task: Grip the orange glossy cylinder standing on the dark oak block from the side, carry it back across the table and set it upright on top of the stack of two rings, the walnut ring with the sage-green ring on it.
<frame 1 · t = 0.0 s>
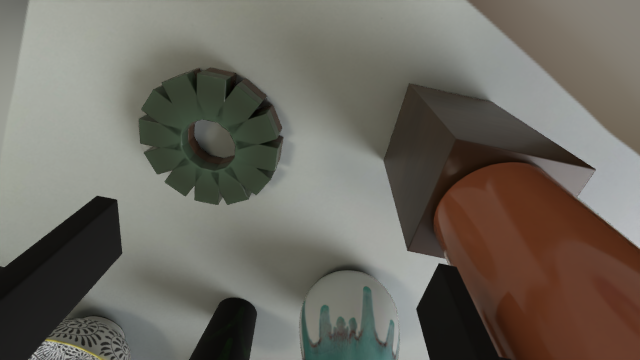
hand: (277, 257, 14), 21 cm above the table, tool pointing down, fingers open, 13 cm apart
oak block: (435, 133, 32), on the table
ring stack: (219, 134, 33), on the table
vase: (348, 289, 43), on the table
bowl: (103, 329, 50), on the table
cup: (237, 310, 46), on the table
orange glossy cylinder: (494, 215, 19), point 14 cm above the table, touching gripper, oak block
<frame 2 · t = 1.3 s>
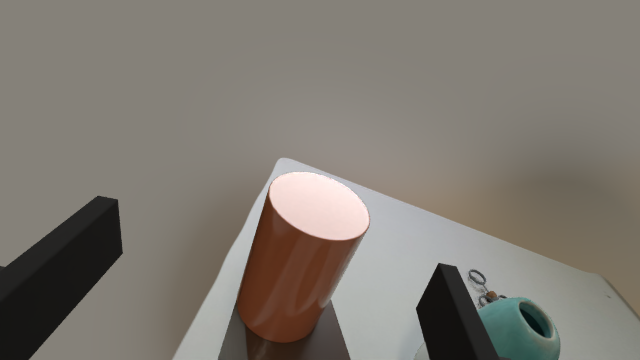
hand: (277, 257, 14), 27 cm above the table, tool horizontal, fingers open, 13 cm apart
syringe: (499, 315, 57), on the table
orange glossy cylinder: (279, 301, 28), point 14 cm above the table, touching oak block
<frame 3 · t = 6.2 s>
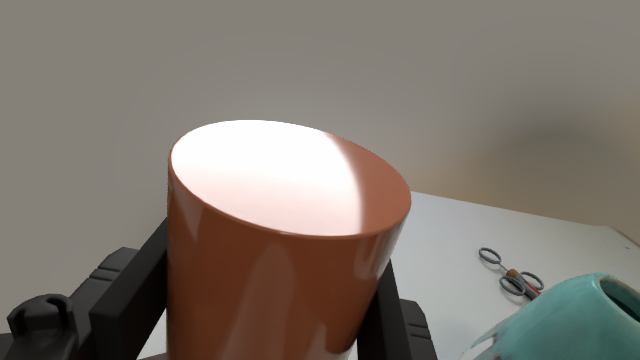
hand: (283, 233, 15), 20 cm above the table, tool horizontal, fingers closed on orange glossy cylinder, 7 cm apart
syringe: (527, 296, 46), on the table
when the fingers open (9 cm above the table, at t = 16.8 s): orange glossy cylinder stays where it is, resting on ring stack.
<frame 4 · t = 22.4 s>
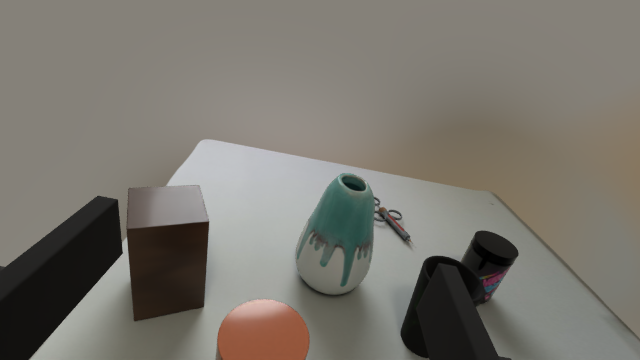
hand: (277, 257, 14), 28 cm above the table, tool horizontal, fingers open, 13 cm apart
syringe: (389, 223, 71), on the table
oak block: (168, 290, 44), on the table
vase: (326, 277, 53), on the table
cup: (419, 339, 46), on the table
supplement container: (468, 290, 57), on the table
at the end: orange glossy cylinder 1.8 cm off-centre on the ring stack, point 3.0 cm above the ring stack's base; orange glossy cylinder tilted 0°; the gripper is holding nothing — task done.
